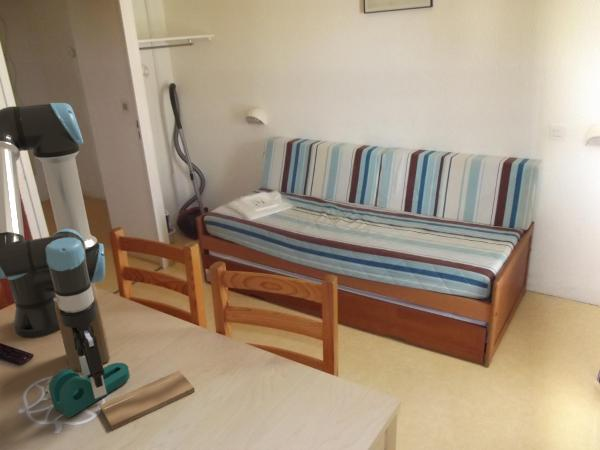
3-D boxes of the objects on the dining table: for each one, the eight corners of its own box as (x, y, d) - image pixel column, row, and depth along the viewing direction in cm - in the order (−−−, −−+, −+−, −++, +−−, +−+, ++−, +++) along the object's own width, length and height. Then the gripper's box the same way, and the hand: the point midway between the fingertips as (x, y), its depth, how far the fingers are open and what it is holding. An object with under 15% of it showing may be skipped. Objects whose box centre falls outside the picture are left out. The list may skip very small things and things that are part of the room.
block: (70, 373, 133) (54, 306, 126) (69, 353, 142) (54, 289, 135) (110, 362, 137) (97, 297, 130) (107, 343, 146) (94, 280, 138)
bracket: (68, 418, 117) (61, 390, 114) (53, 406, 121) (46, 379, 118) (135, 376, 130) (130, 350, 127) (119, 366, 134) (114, 341, 131)
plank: (100, 409, 121) (99, 404, 120) (179, 374, 132) (179, 370, 131) (112, 430, 114) (111, 425, 114) (194, 391, 125) (194, 387, 125)
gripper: (48, 292, 123) (67, 371, 131) (71, 330, 107) (92, 416, 116) (80, 283, 127) (97, 359, 135) (108, 317, 111) (125, 402, 120)
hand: (95, 386), depth 125 cm, fingers closed on bracket, 8 cm apart
